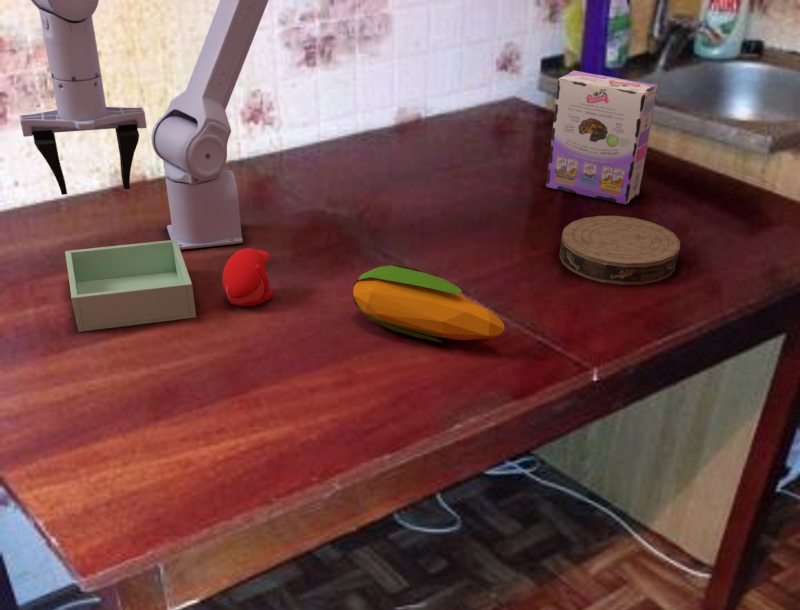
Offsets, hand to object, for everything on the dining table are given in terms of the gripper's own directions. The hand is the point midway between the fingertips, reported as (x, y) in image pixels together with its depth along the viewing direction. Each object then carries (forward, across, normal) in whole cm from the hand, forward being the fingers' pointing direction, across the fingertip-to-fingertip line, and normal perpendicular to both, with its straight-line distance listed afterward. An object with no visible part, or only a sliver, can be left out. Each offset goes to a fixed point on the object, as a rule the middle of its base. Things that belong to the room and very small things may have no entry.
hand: (95, 189), depth 125 cm
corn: (+10, +35, -30) cm, 47 cm away
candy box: (+9, +75, +6) cm, 76 cm away
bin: (+10, +2, -12) cm, 15 cm away
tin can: (+10, +67, -18) cm, 70 cm away
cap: (+10, +16, -15) cm, 24 cm away
